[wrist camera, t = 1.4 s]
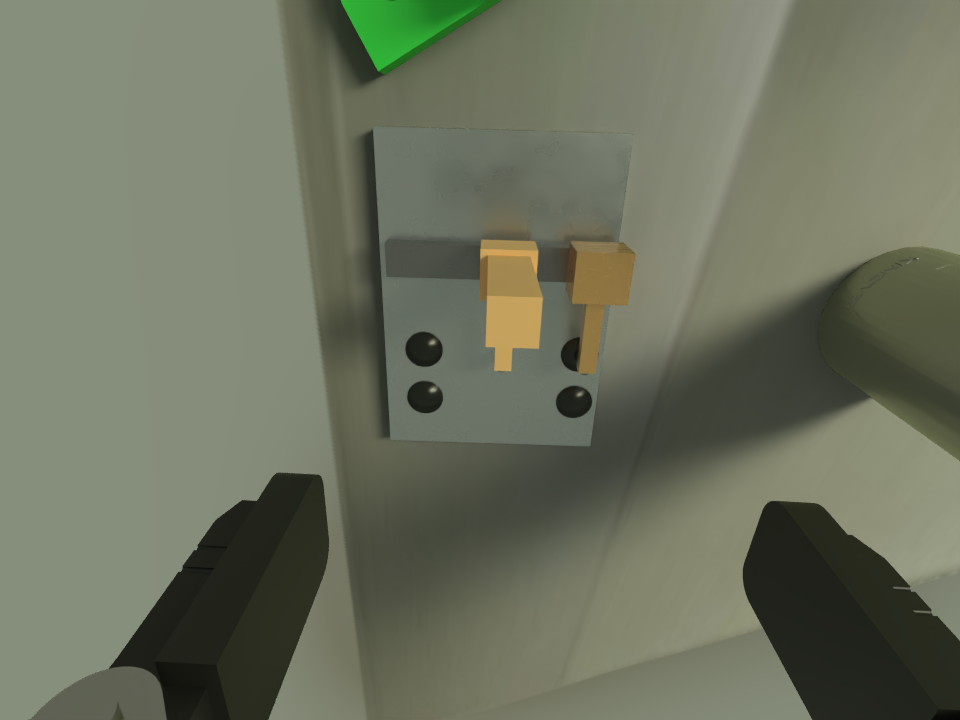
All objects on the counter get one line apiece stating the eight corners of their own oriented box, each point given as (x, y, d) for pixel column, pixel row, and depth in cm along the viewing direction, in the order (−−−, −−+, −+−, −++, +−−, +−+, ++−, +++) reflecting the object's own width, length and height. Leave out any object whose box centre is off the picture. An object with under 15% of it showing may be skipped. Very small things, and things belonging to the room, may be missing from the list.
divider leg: (533, 237, 30) (553, 290, 20) (524, 359, 33) (539, 455, 23) (481, 235, 30) (477, 288, 20) (478, 358, 33) (473, 453, 23)
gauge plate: (628, 133, 28) (653, 135, 24) (587, 436, 37) (600, 479, 32) (377, 126, 28) (356, 126, 24) (393, 430, 37) (380, 472, 32)
